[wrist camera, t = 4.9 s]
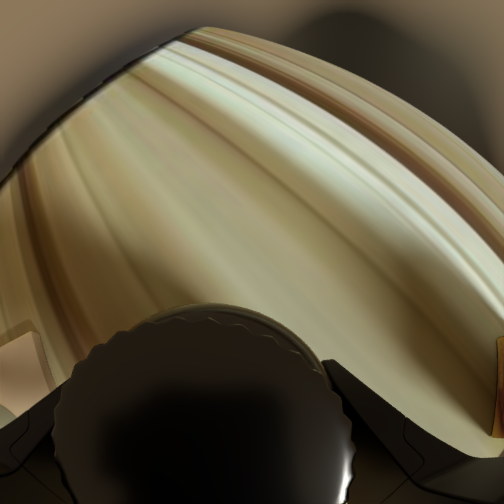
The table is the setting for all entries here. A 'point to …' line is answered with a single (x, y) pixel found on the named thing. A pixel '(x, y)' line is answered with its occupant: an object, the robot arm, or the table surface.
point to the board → (23, 376)
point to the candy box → (499, 393)
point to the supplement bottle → (203, 415)
